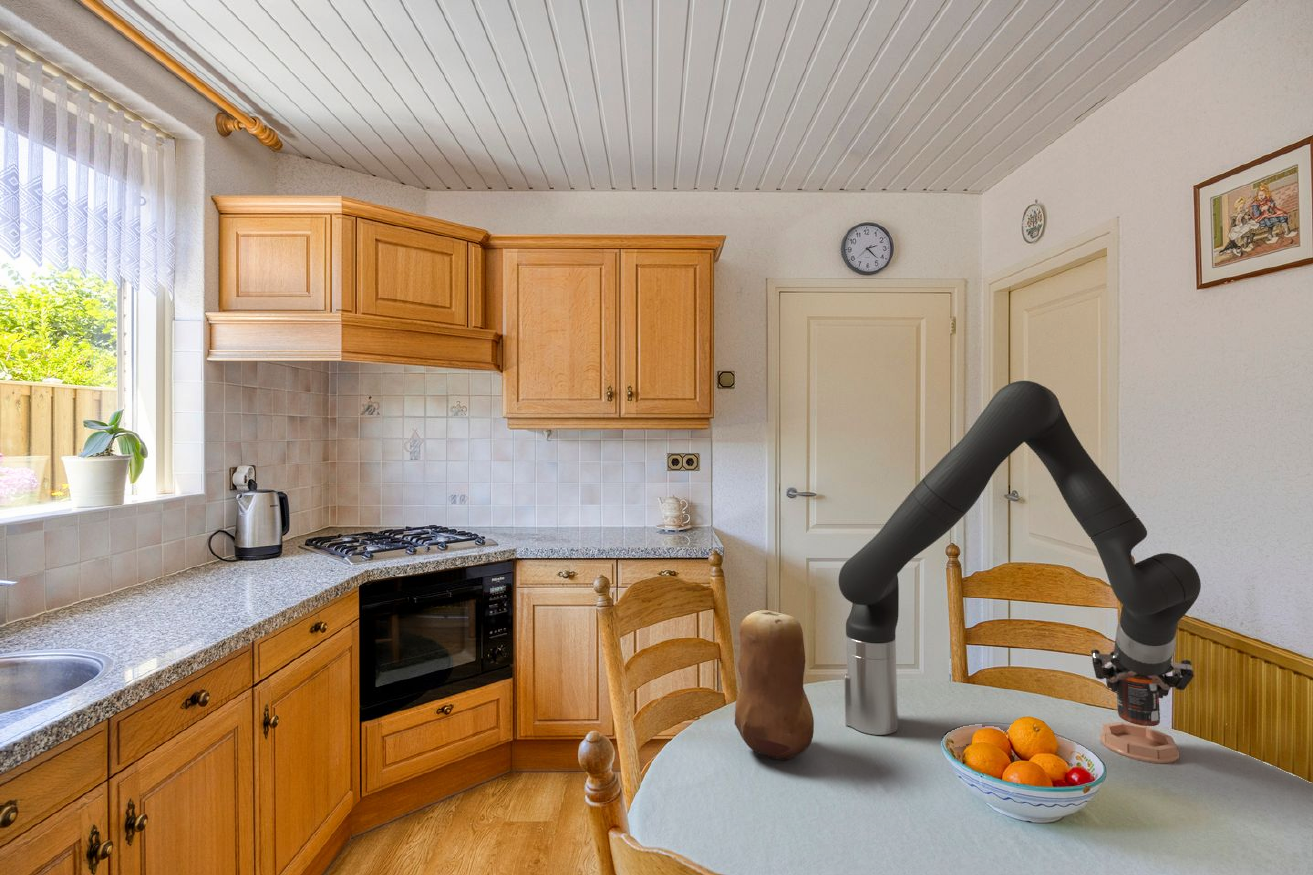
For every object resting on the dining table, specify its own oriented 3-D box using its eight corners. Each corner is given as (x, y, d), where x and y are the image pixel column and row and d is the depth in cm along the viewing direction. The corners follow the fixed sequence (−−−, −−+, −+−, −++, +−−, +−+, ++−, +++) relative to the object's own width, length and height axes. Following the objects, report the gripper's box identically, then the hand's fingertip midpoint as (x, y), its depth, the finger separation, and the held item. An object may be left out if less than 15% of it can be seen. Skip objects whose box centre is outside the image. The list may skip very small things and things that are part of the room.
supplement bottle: (1168, 728, 104) (1165, 662, 105) (1129, 726, 106) (1126, 660, 106) (1147, 714, 110) (1144, 651, 111) (1111, 712, 111) (1108, 650, 112)
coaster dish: (1104, 753, 106) (1103, 740, 106) (1097, 728, 116) (1096, 716, 116) (1186, 769, 101) (1185, 755, 101) (1171, 741, 110) (1171, 729, 110)
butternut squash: (808, 737, 114) (805, 603, 115) (820, 774, 101) (816, 623, 102) (734, 735, 116) (731, 603, 116) (736, 771, 102) (733, 622, 103)
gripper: (1196, 626, 99) (1182, 676, 108) (1088, 616, 106) (1084, 664, 116) (1207, 669, 94) (1191, 718, 104) (1093, 655, 101) (1089, 702, 111)
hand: (1135, 689), depth 110 cm, fingers closed on supplement bottle, 6 cm apart
